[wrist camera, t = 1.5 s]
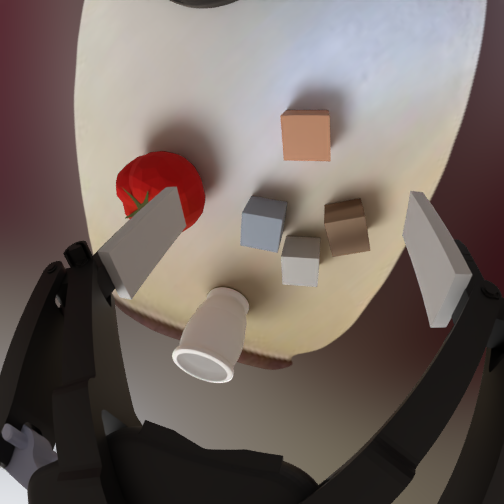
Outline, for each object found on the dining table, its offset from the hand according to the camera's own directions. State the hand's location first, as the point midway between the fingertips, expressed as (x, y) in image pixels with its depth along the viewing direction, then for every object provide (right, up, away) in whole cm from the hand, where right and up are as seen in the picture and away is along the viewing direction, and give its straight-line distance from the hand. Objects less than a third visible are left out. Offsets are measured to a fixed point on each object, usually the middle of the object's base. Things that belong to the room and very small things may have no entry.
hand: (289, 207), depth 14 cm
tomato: (-13, +9, +24) cm, 29 cm away
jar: (-6, -12, +38) cm, 40 cm away
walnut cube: (+11, +2, +21) cm, 24 cm away
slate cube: (0, +3, +24) cm, 24 cm away
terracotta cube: (+5, +12, +16) cm, 20 cm away
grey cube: (+6, -2, +26) cm, 27 cm away
